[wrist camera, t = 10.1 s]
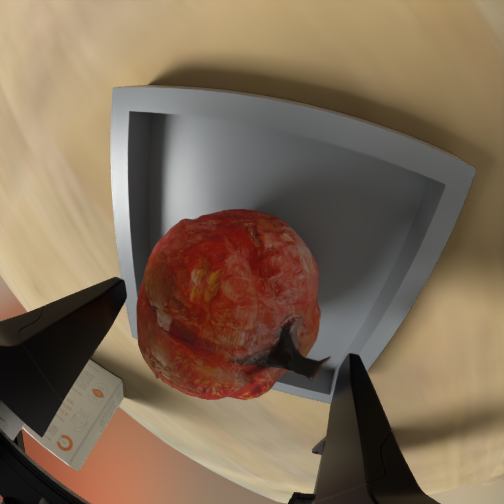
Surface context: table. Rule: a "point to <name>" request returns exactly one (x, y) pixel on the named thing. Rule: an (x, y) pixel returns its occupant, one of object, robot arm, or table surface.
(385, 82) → the table surface
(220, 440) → the table surface
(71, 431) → the small box
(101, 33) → the table surface
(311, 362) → the pomegranate
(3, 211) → the table surface
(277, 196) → the tray
